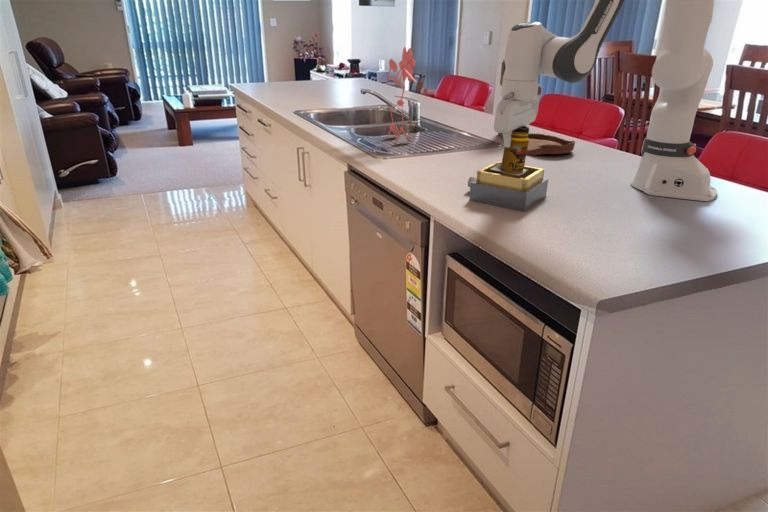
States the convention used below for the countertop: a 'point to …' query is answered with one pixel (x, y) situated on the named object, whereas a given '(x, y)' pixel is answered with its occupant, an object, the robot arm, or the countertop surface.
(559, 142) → the basket
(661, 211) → the countertop surface
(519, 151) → the condiment
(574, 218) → the countertop surface
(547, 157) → the countertop surface
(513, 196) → the grey and gold box
